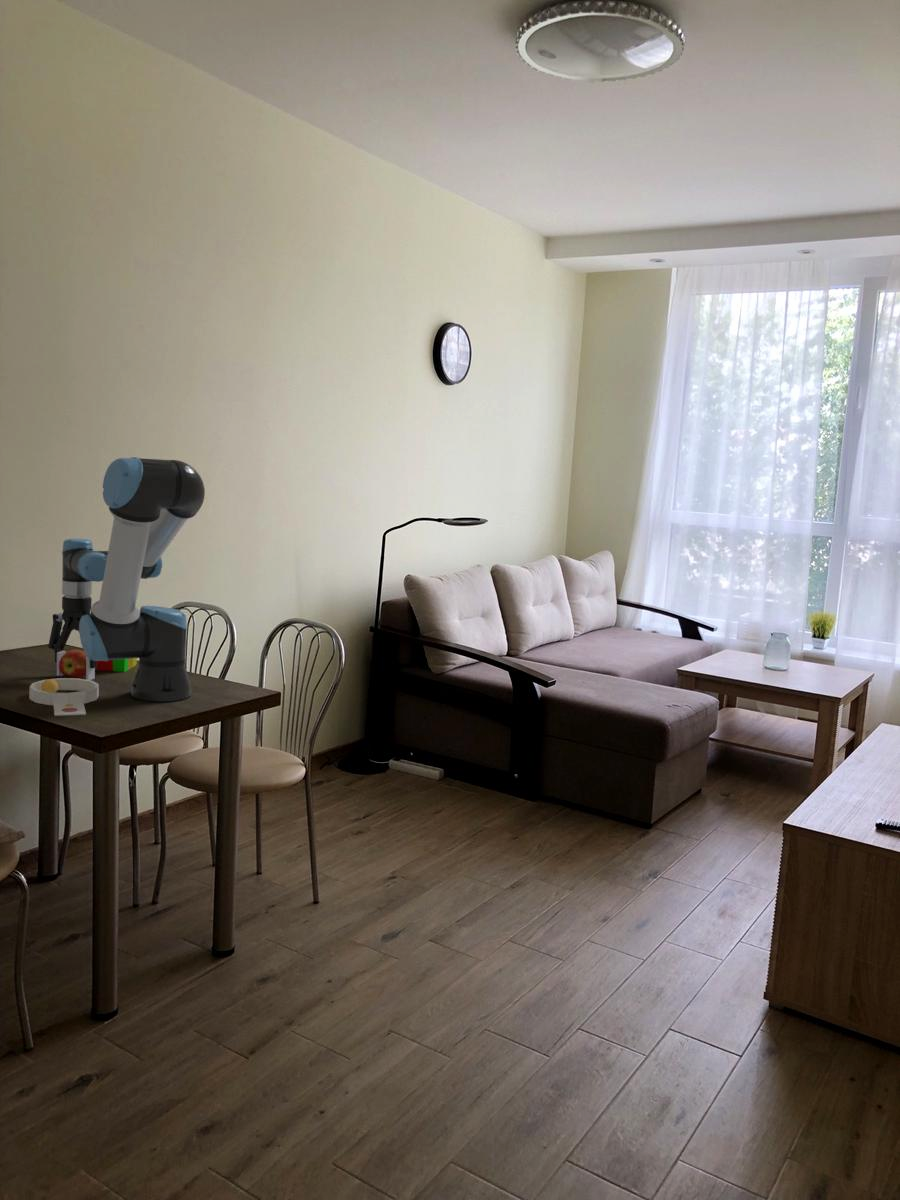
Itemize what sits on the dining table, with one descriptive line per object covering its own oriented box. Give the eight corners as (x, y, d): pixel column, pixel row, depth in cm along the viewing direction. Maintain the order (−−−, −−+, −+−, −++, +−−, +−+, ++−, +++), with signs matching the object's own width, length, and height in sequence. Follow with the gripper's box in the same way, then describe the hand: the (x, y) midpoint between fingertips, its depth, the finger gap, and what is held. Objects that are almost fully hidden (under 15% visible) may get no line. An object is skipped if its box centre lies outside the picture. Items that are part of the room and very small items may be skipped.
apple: (54, 680, 271) (54, 651, 270) (68, 673, 279) (68, 645, 278) (82, 682, 270) (83, 653, 269) (96, 676, 278) (96, 648, 277)
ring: (110, 694, 260) (111, 683, 259) (70, 708, 245) (70, 696, 244) (58, 686, 264) (59, 675, 264) (16, 699, 249) (16, 687, 249)
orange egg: (61, 694, 257) (61, 679, 257) (50, 697, 253) (51, 682, 253) (48, 692, 258) (48, 676, 258) (37, 695, 254) (37, 680, 254)
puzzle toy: (103, 662, 296) (103, 629, 294) (136, 664, 295) (137, 631, 294) (89, 669, 286) (90, 635, 284) (124, 672, 286) (125, 637, 284)
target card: (85, 714, 240) (85, 712, 240) (54, 715, 238) (54, 713, 238) (83, 704, 249) (83, 702, 249) (53, 704, 247) (53, 703, 247)
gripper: (119, 598, 272) (117, 679, 275) (52, 590, 278) (51, 669, 281) (102, 602, 265) (100, 685, 268) (34, 593, 271) (33, 674, 274)
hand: (75, 677), depth 275 cm, fingers open, 9 cm apart
